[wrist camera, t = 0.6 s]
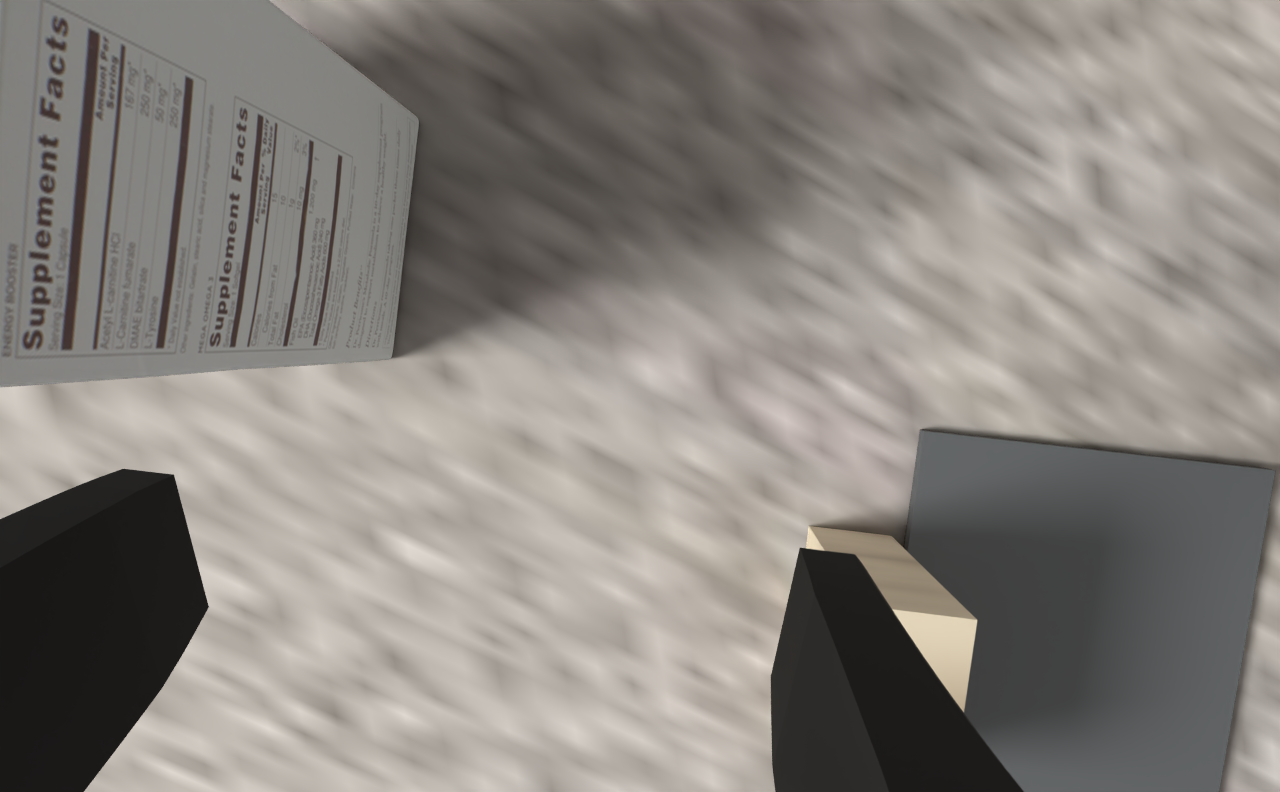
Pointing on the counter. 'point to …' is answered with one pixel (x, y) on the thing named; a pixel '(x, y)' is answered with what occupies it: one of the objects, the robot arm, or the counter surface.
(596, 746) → the counter surface
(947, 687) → the maple slab
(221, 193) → the supplement box
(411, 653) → the counter surface
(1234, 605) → the mat
